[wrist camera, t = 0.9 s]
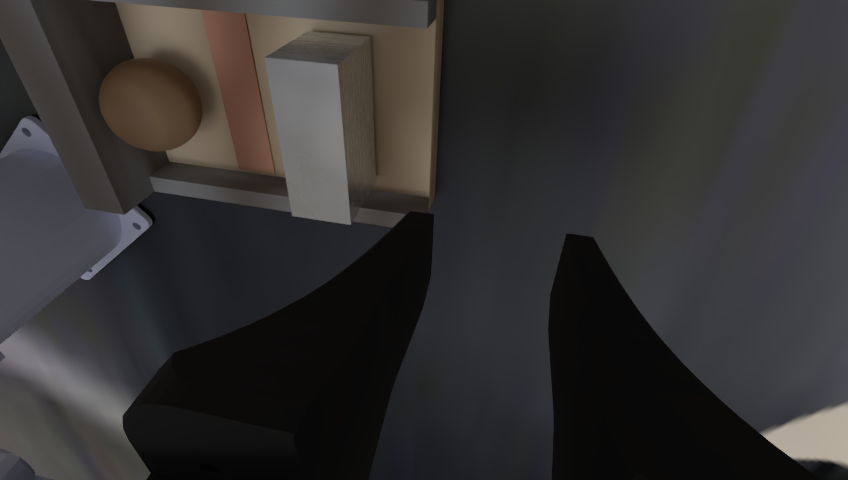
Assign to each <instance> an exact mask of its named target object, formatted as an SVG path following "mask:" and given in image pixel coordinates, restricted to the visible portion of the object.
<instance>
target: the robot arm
mask: <svg viewBox="0 0 848 480" xmlns="http://www.w3.org/2000/svg"><path fill="white" fill-rule="evenodd" d="M152 224H153V223H152V219H151V218H150V217H149V216H148V215H147V214H146V213H145V212H144V211H143V210H142V209H140V208H139V207H138V206H135V207H134V208H133V209H131V210H130V211H129V212H128V213H126V214H125V215H122V214H116V213H110V212H104V211H98V210H91V209H85V207H84V205H83V203H82V201H81V199H80V197H79V195H78V193H77V191H76V189H75V187H74V185H73V183H72V181H71V179H70V177H69V175H68V173H67V171H66V169H65V167H64V165H63V163H62V161H61V159H60V157H59V155H58V153H57V151H56V149H55V147H54V145H53V143H52V141H51V139H50V137H49V135H48V133H47V131H46V129H45V127H44V125H43V123H42V122H41V121H40V120H39V119H37V118H36V117H33V116H27V117H25V118H23V119H22V120H21V121H20V123H19V124H18V126H17V128H16V129H15V131H14V132H13V134H12V136H11V137H10V139H9V140H8V142H7V144H6V145H5V147H4V148H3V150H2V152H1V153H0V344H1V343H2V342H4V341H5V340H6V339H7V338H8V337H9V336H11V335H12V334H13V333H14V332H15V331H17V330H18V329H19V328H20V327H21V326H23V325H24V324H25V323H26V322H27V321H29V320H30V319H31V318H32V317H33V316H35V315H36V314H37V313H38V312H39V311H40V310H42V309H43V308H44V307H45V306H46V305H48V304H49V303H50V302H51V301H52V300H54V299H55V298H56V297H57V296H58V295H60V294H61V293H62V292H63V291H64V290H65V289H67V288H68V287H69V286H70V285H71V284H73V283H74V282H75V281H76V280H77V279H79V278H80V277H81V278H82V279H85V280H89V279H91V278H92V277H93V276H94V275H95V274H96V273H98V272H99V271H100V270H101V269H102V268H103V267H104V266H106V265H107V264H108V263H109V262H110V261H111V260H112V259H114V258H115V257H116V256H117V255H118V254H119V253H121V252H122V251H123V250H124V249H125V248H126V247H127V246H129V245H130V244H131V243H132V242H133V241H134V240H135V239H137V238H138V237H139V236H140V235H141V234H142V233H143V232H145V231H146V230H147V229H148V228H149V227H150V226H152ZM433 224H434V214H429V213H422V212H415V211H410V212H409V213H407V214H406V215H405V216H404V217H403V218H402V219H401V220H400V221H399V222H398V223H397V224H396V225H395V226H394V227H393V228H392V229H391V230H390V231H389V232H388V233H387V234H386V235H384V236H383V237H382V238H381V239H380V240H379V241H378V242H377V243H376V244H375V245H373V246H372V247H371V248H370V249H369V250H368V251H367V252H366V253H364V254H363V255H362V256H361V257H360V258H358V259H357V260H356V261H355V262H353V263H352V264H351V265H349V266H348V267H347V268H346V269H344V270H343V271H342V272H341V273H339V274H338V275H336V276H335V277H334V278H332V279H331V280H329V281H328V282H327V283H325V284H324V285H322V286H321V287H319V288H317V289H316V290H314V291H313V292H311V293H310V294H308V295H306V296H305V297H303V298H301V299H299V300H297V301H296V302H294V303H292V304H290V305H288V306H286V307H284V308H283V309H281V310H279V311H277V312H275V313H273V314H271V315H269V316H267V317H265V318H263V319H261V320H258V321H256V322H254V323H252V324H250V325H247V326H245V327H243V328H240V329H238V330H236V331H233V332H231V333H228V334H226V335H223V336H221V337H218V338H215V339H212V340H209V341H206V342H204V343H201V344H198V345H195V346H192V347H190V348H187V349H184V350H181V351H178V352H175V353H173V354H172V356H171V357H170V358H169V359H168V360H167V361H166V362H165V363H164V364H163V366H162V367H161V368H160V369H159V370H158V371H157V373H156V374H155V375H154V376H153V378H152V379H151V380H150V382H149V383H148V384H147V385H146V387H145V388H144V389H143V391H142V392H141V393H140V394H139V396H138V397H137V398H136V399H135V401H134V402H133V403H132V405H131V406H130V407H129V408H128V410H127V411H126V412H125V414H124V415H123V428H124V431H125V433H126V436H127V438H128V440H129V441H130V443H131V444H132V446H133V447H134V449H135V450H136V452H137V453H138V455H139V456H140V457H141V459H142V460H143V462H144V463H145V465H146V466H147V468H148V469H149V471H150V472H151V474H150V475H149V477H148V478H147V480H368V479H369V475H370V471H371V467H372V463H373V459H374V455H375V451H376V448H377V444H378V440H379V436H380V432H381V428H382V424H383V421H384V417H385V413H386V410H387V406H388V402H389V399H390V395H391V392H392V389H393V386H394V383H395V380H396V377H397V374H398V372H399V369H400V366H401V364H402V361H403V359H404V356H405V353H406V351H407V348H408V346H409V343H410V340H411V338H412V335H413V333H414V330H415V327H416V325H417V322H418V319H419V317H420V314H421V311H422V309H423V305H424V301H425V297H426V293H427V289H428V285H429V281H430V277H431V265H432V244H433ZM548 332H549V349H550V365H551V380H552V395H553V411H554V436H553V462H552V480H820V479H819V478H818V477H816V476H815V475H814V474H812V473H811V472H810V471H808V470H807V469H805V468H804V467H803V466H801V465H800V464H799V463H797V462H796V461H795V460H793V459H792V458H791V457H789V456H788V455H787V454H785V453H784V452H782V451H781V450H780V449H778V448H777V447H776V446H774V445H773V444H772V443H771V442H769V441H768V440H767V439H766V438H764V437H763V436H762V435H761V434H760V433H758V432H757V431H756V430H755V429H754V428H752V427H751V426H750V425H749V424H748V423H746V422H745V421H744V420H743V419H741V418H740V417H739V416H738V415H737V414H736V413H735V412H733V411H732V410H731V409H730V408H729V407H728V406H727V405H725V404H724V403H723V402H722V401H721V400H720V399H719V398H718V397H717V396H716V395H715V394H713V393H712V392H711V391H710V390H709V389H708V388H707V387H706V386H705V385H704V384H703V383H702V382H701V381H700V380H699V379H698V378H697V377H696V376H695V375H694V374H693V373H692V372H691V371H690V370H689V369H688V368H687V367H686V366H685V365H684V364H683V363H682V362H681V361H680V360H679V359H678V358H677V356H676V355H675V354H674V353H673V352H672V351H671V350H670V349H669V348H668V346H667V345H666V344H665V343H664V342H663V341H662V340H661V339H660V337H659V336H658V335H657V334H656V332H655V331H654V330H653V329H652V327H651V326H650V325H649V323H648V322H647V321H646V320H645V318H644V317H643V316H642V314H641V313H640V311H639V310H638V309H637V307H636V306H635V304H634V303H633V302H632V300H631V299H630V297H629V296H628V294H627V293H626V291H625V290H624V288H623V287H622V285H621V284H620V282H619V280H618V279H617V277H616V276H615V274H614V272H613V271H612V269H611V267H610V266H609V264H608V262H607V261H606V259H605V257H604V255H603V254H602V252H601V250H600V248H599V246H598V245H597V243H596V241H595V240H594V238H593V237H588V236H581V235H574V234H566V238H565V242H564V246H563V249H562V253H561V257H560V261H559V264H558V268H557V272H556V276H555V279H554V283H553V287H552V291H551V295H550V309H549V327H548ZM4 358H5V356H4V355H3V354H2V353H1V352H0V361H2V360H3V359H4ZM0 480H52V479H49V478H45V477H41V476H37V475H35V472H34V470H33V469H32V468H31V466H30V465H29V464H28V463H27V462H26V461H24V460H23V459H22V458H21V457H19V456H17V455H15V454H14V453H12V452H9V451H6V450H4V449H0Z"/></svg>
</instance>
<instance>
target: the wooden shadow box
mask: <svg viewBox="0 0 848 480" xmlns="http://www.w3.org/2000/svg"><path fill="white" fill-rule="evenodd" d="M443 16H444V0H0V39H1V41H2V43H3V45H4V47H5V49H6V51H7V53H8V55H9V57H10V59H11V61H12V63H13V65H14V67H15V69H16V71H17V73H18V75H19V77H20V79H21V81H22V83H23V85H24V87H25V89H26V91H27V93H28V95H29V97H30V99H31V101H32V103H33V105H34V107H35V109H36V111H37V113H38V115H39V117H40V119H41V121H42V123H43V125H44V127H45V129H46V131H47V133H48V135H49V137H50V139H51V141H52V143H53V145H54V147H55V149H56V151H57V153H58V155H59V157H60V159H61V161H62V163H63V165H64V167H65V169H66V171H67V173H68V175H69V177H70V179H71V181H72V183H73V185H74V187H75V189H76V191H77V193H78V195H79V197H80V199H81V201H82V203H83V205H84V207H85V209H91V210H98V211H104V212H110V213H116V214H122V215H125V214H126V213H128V212H129V211H130V210H131V209H133V208H134V207H135V206H137V205H138V204H139V203H140V202H142V201H143V200H144V199H146V198H147V197H148V196H149V195H151V194H152V193H153V192H161V193H168V194H175V195H181V196H188V197H194V198H201V199H208V200H214V201H221V202H227V203H234V204H241V205H247V206H254V207H261V208H267V209H274V210H280V211H287V212H291V206H290V200H289V195H288V189H287V183H286V178H285V172H284V166H283V161H282V155H281V149H280V144H279V138H278V132H277V127H276V121H275V115H274V110H273V104H272V98H271V93H270V87H269V81H268V76H267V70H266V64H265V59H264V57H266V56H268V55H269V54H271V53H273V52H274V51H276V50H277V49H279V48H281V47H282V46H284V45H286V44H287V43H289V42H290V41H292V40H294V39H295V38H297V37H299V36H300V35H302V34H303V33H305V32H307V31H311V32H322V33H333V34H344V35H356V36H367V37H370V45H371V69H372V93H373V118H374V142H375V166H376V183H375V185H374V186H373V188H372V190H371V192H370V193H369V195H368V197H367V198H366V200H365V202H364V204H363V205H362V207H361V209H360V210H359V212H358V214H357V215H356V217H355V219H354V221H353V222H360V223H366V224H373V225H379V226H386V227H394V226H395V225H396V224H397V223H398V222H399V221H400V220H401V219H402V218H403V217H404V216H405V215H406V214H407V213H409V212H410V211H415V212H422V213H429V210H430V207H431V205H432V202H433V199H434V197H435V182H436V161H437V141H438V120H439V99H440V78H441V58H442V37H443Z"/></svg>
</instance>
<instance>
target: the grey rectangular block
mask: <svg viewBox="0 0 848 480" xmlns="http://www.w3.org/2000/svg"><path fill="white" fill-rule="evenodd" d="M264 59H265V64H266V70H267V76H268V81H269V87H270V93H271V98H272V104H273V110H274V115H275V121H276V127H277V132H278V138H279V144H280V149H281V155H282V161H283V166H284V172H285V178H286V183H287V189H288V195H289V200H290V206H291V212H292V216H296V217H303V218H309V219H316V220H322V221H329V222H335V223H342V224H348V225H351V224H352V222H353V221H354V219H355V217H356V215H357V214H358V212H359V210H360V209H361V207H362V205H363V204H364V202H365V200H366V198H367V197H368V195H369V193H370V192H371V190H372V188H373V186H374V185H375V183H376V166H375V142H374V118H373V93H372V69H371V45H370V37H367V36H356V35H344V34H333V33H322V32H311V31H307V32H305V33H303V34H302V35H300V36H299V37H297V38H295V39H294V40H292V41H290V42H289V43H287V44H286V45H284V46H282V47H281V48H279V49H277V50H276V51H274V52H273V53H271V54H269V55H268V56H266V57H264Z"/></svg>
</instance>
